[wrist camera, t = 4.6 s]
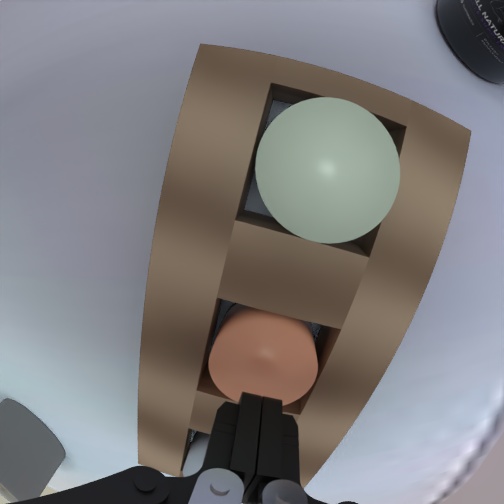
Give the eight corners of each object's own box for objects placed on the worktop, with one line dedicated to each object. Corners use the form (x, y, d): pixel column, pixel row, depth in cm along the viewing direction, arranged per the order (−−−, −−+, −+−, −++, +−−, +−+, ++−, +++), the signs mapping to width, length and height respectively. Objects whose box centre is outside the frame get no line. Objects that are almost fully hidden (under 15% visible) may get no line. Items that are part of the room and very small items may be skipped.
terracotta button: (231, 283, 15) (220, 309, 13) (325, 308, 15) (334, 338, 12) (212, 360, 17) (200, 393, 14) (295, 380, 17) (297, 416, 14)
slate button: (198, 415, 17) (186, 450, 14) (275, 434, 17) (273, 470, 14) (189, 455, 18) (179, 485, 15) (255, 470, 18) (251, 502, 15)
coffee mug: (28, 400, 22) (-24, 458, 12) (80, 463, 24) (45, 522, 14) (-17, 395, 24) (-57, 435, 14) (24, 450, 26) (-7, 492, 17)
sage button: (277, 99, 12) (276, 80, 9) (386, 133, 12) (414, 126, 9) (248, 209, 13) (239, 221, 10) (356, 240, 13) (375, 259, 10)
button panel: (215, 65, 13) (200, 43, 10) (440, 135, 13) (471, 130, 10) (150, 437, 20) (138, 463, 17) (293, 472, 20) (293, 500, 17)
